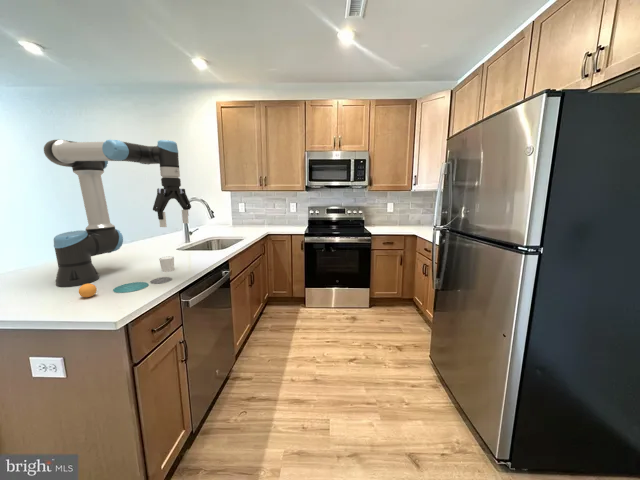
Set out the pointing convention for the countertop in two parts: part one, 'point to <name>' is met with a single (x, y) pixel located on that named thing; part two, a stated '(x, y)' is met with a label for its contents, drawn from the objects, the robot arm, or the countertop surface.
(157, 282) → the disc
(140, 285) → the disc
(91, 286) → the ball
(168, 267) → the shot glass
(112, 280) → the countertop surface
